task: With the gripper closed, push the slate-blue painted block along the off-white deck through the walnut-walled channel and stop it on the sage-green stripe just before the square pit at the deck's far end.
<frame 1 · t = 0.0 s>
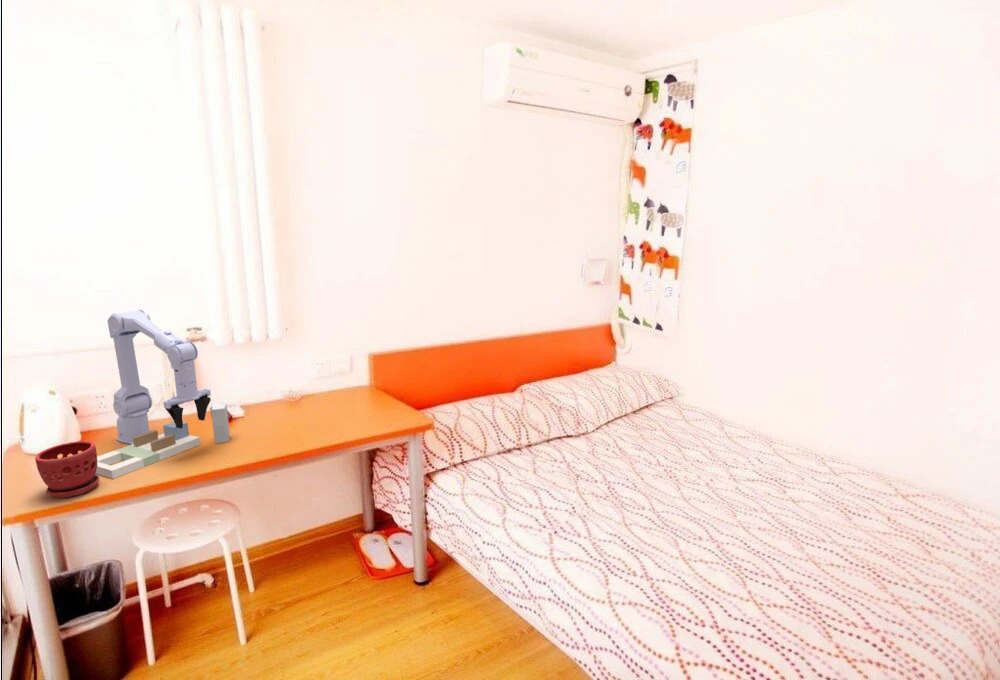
hand: (190, 423, 178), 10 cm above the table, fingers open, 7 cm apart
skincare box: (222, 440, 191), on the table
plant pot: (72, 490, 156), on the table
deck: (145, 456, 178), on the table
block: (177, 437, 187), point 2 cm above the table, touching deck
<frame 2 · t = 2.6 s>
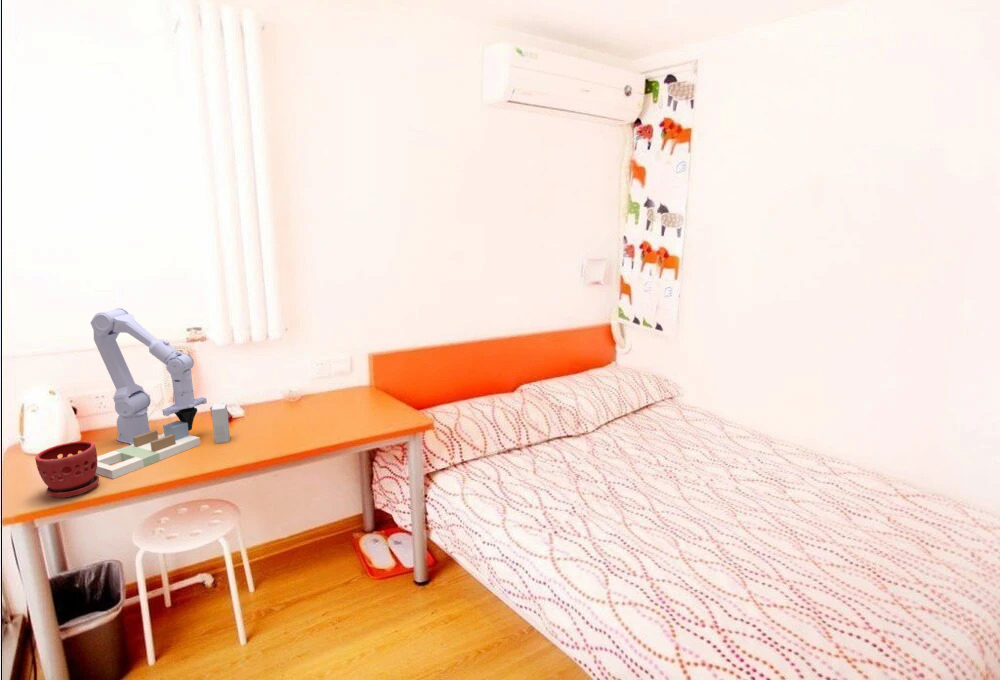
hand: (188, 429, 191), 4 cm above the table, fingers closed
block: (177, 437, 187), point 3 cm above the table, touching deck, gripper
everything else where it was.
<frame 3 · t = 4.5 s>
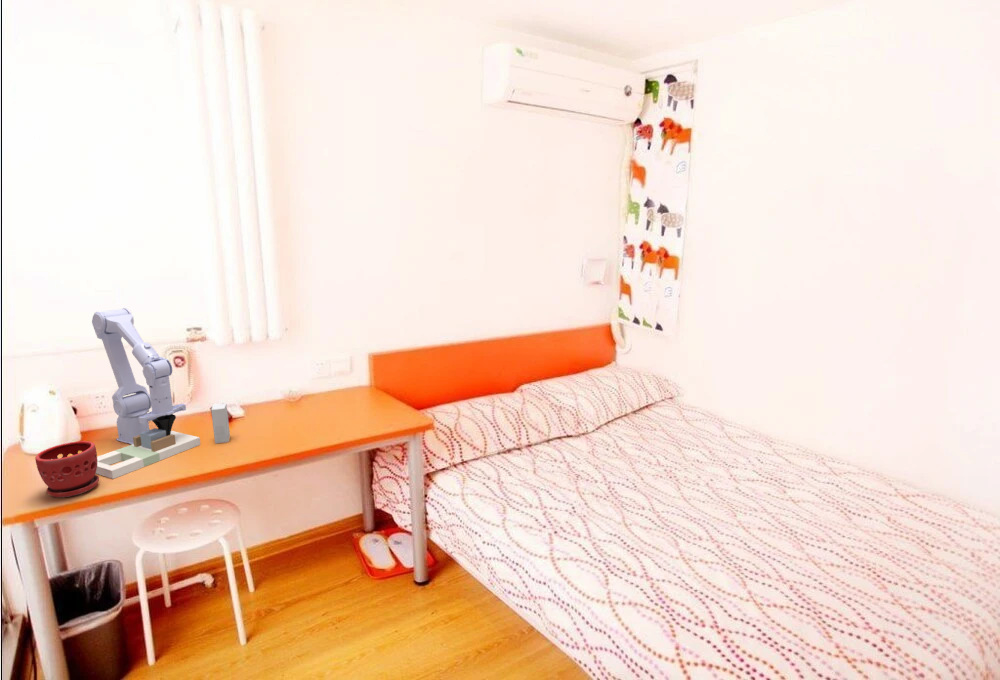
hand: (166, 437, 184), 4 cm above the table, fingers closed
block: (154, 445, 180), point 3 cm above the table, touching gripper
everything else where it was.
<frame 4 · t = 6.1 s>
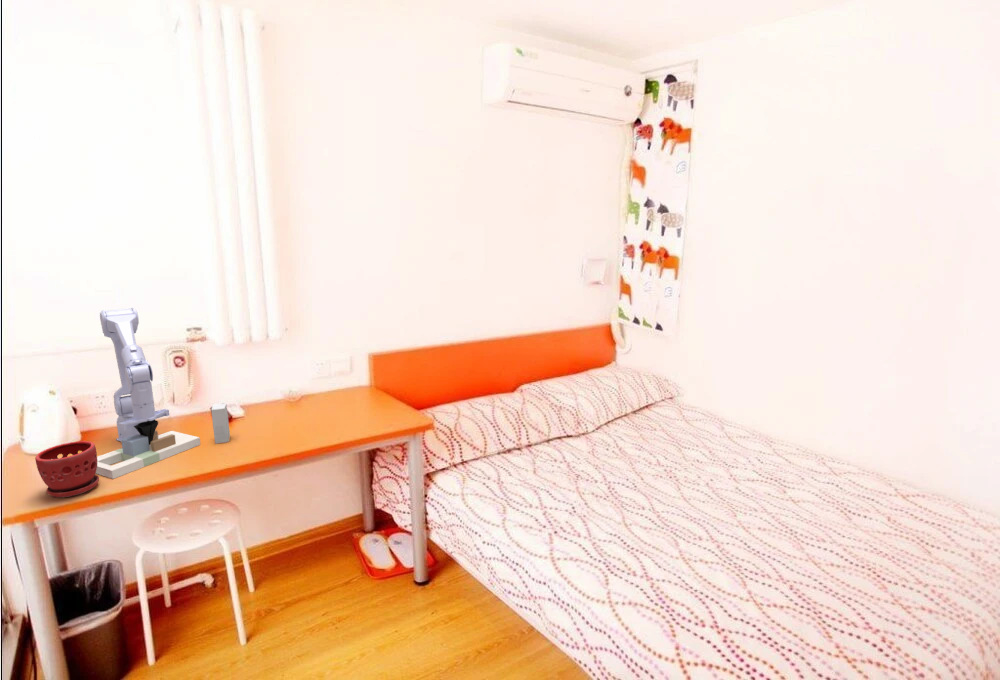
hand: (148, 443, 179), 4 cm above the table, fingers closed
block: (136, 451, 175), point 2 cm above the table, touching deck, gripper
everything else where it was.
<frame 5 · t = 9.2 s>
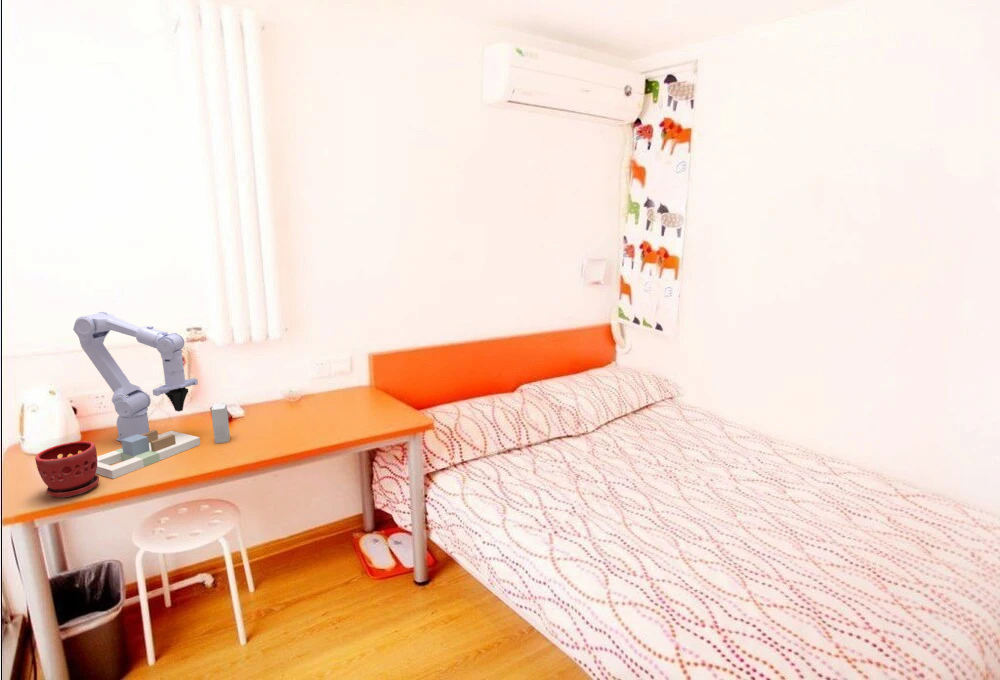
hand: (179, 410, 189), 10 cm above the table, fingers closed
block: (136, 451, 175), point 2 cm above the table, touching deck
everything else where it was.
at the end: block 0.1 cm from the target spot, point 2.5 cm above the table; block tilted 0° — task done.
